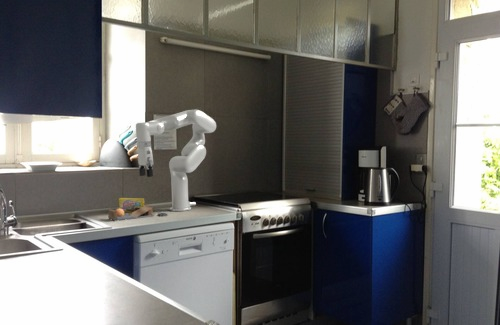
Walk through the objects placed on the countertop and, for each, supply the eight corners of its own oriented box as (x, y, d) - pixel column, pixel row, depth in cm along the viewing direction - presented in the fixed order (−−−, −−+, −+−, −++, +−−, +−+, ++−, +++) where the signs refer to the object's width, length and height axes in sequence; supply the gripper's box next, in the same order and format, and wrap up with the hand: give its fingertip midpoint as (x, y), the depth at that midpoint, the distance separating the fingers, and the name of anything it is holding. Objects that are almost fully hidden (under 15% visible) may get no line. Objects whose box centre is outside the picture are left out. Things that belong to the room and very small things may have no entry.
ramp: (146, 214, 262) (146, 205, 261) (153, 216, 254) (153, 206, 254) (108, 218, 249) (108, 209, 249) (114, 221, 242) (113, 211, 241)
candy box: (119, 212, 272) (118, 198, 272) (121, 211, 274) (120, 197, 274) (143, 213, 267) (142, 198, 267) (145, 212, 269) (144, 198, 269)
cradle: (163, 214, 259) (163, 212, 259) (167, 215, 255) (167, 213, 255) (157, 215, 257) (157, 213, 257) (161, 216, 253) (161, 214, 253)
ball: (123, 215, 252) (121, 206, 251) (126, 216, 248) (124, 207, 247) (114, 218, 249) (112, 209, 248) (117, 219, 245) (115, 210, 244)
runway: (147, 214, 262) (147, 211, 262) (153, 216, 254) (153, 212, 254) (108, 218, 249) (108, 215, 249) (114, 221, 242) (114, 217, 242)
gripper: (157, 144, 251) (159, 176, 252) (144, 144, 265) (146, 174, 266) (144, 145, 247) (146, 177, 248) (131, 145, 261) (133, 175, 262)
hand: (146, 176), depth 257 cm, fingers open, 9 cm apart
